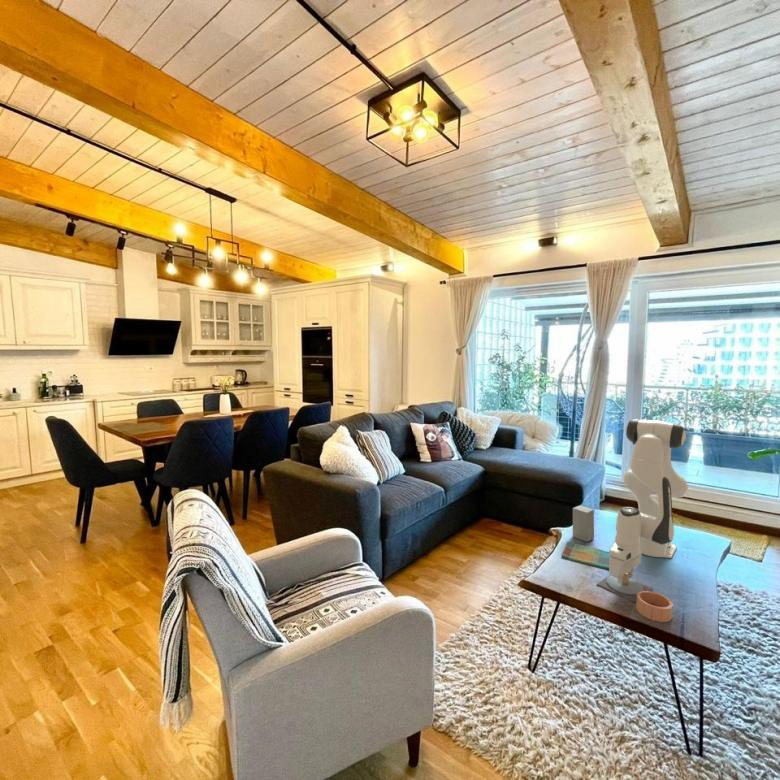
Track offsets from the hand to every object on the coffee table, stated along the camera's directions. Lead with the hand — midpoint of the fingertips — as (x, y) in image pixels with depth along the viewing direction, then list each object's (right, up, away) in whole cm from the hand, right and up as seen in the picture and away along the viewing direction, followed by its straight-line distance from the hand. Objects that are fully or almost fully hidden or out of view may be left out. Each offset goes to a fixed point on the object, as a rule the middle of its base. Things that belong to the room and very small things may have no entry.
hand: (624, 580), depth 169 cm
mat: (0, -3, 0) cm, 3 cm away
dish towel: (-2, -1, +25) cm, 25 cm away
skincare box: (+3, +1, +45) cm, 45 cm away
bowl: (+2, -5, -16) cm, 16 cm away
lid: (0, -2, 0) cm, 2 cm away
